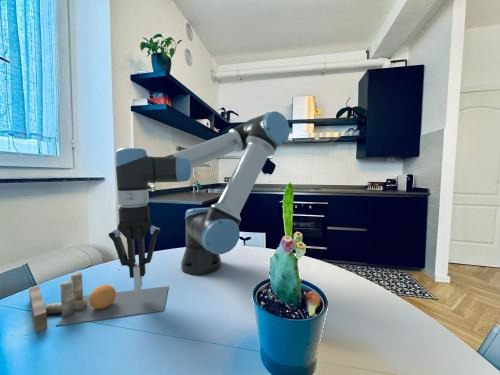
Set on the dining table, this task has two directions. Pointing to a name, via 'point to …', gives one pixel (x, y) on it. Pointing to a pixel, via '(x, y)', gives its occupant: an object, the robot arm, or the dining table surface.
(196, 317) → the dining table surface
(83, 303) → the front pin
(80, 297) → the pin
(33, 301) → the back wall
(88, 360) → the dining table surface
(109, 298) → the ball
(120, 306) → the mat
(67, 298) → the pin
